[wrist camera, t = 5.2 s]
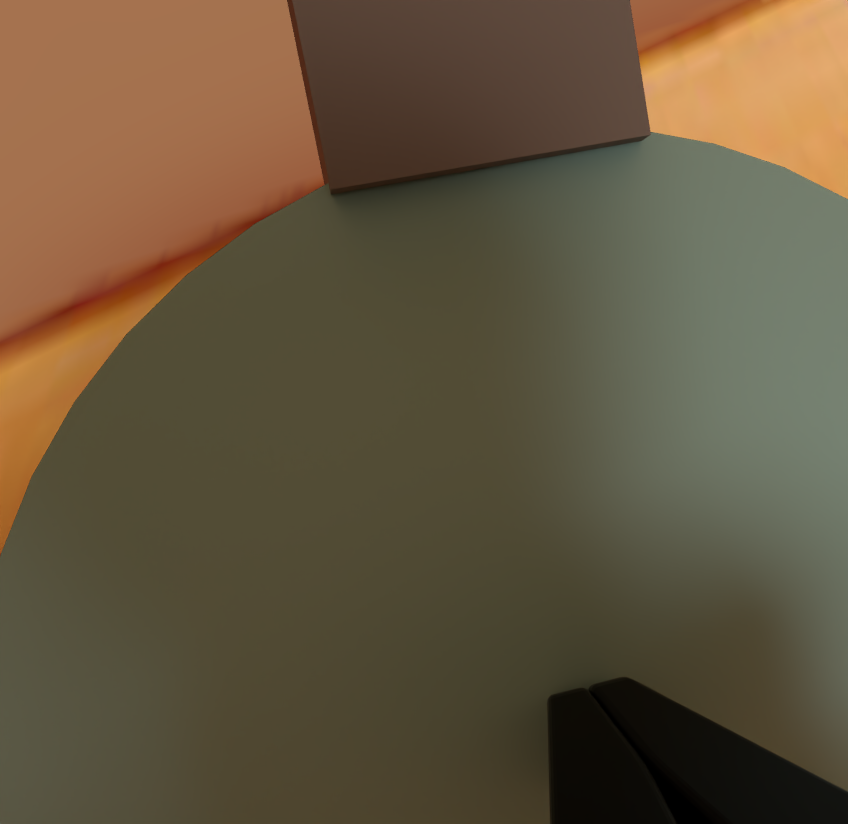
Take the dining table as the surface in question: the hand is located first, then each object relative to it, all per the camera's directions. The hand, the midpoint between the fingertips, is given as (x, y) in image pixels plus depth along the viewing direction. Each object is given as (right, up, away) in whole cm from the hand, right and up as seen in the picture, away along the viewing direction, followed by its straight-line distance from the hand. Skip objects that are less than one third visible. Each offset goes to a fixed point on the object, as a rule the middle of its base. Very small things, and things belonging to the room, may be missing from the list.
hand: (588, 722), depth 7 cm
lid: (0, +2, +1) cm, 2 cm away
